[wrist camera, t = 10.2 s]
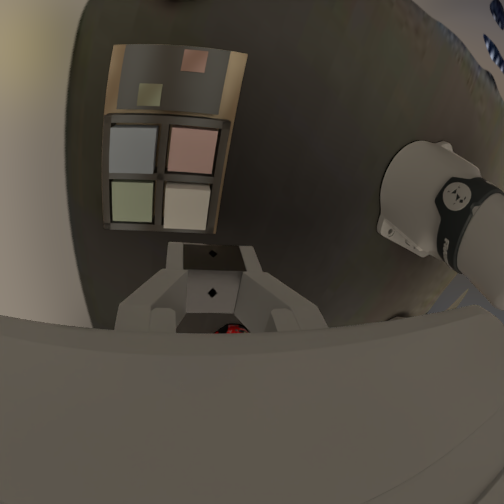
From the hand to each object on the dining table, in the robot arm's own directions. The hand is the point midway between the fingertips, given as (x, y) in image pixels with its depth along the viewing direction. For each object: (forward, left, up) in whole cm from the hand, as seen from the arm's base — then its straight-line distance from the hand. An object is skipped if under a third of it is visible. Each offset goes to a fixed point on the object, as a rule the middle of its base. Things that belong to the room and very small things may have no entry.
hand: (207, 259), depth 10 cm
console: (+3, +1, -20) cm, 21 cm away
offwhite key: (-2, +5, -18) cm, 19 cm away
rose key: (0, 0, -19) cm, 19 cm away
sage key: (+3, +8, -19) cm, 21 cm away
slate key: (+5, +3, -18) cm, 19 cm away
